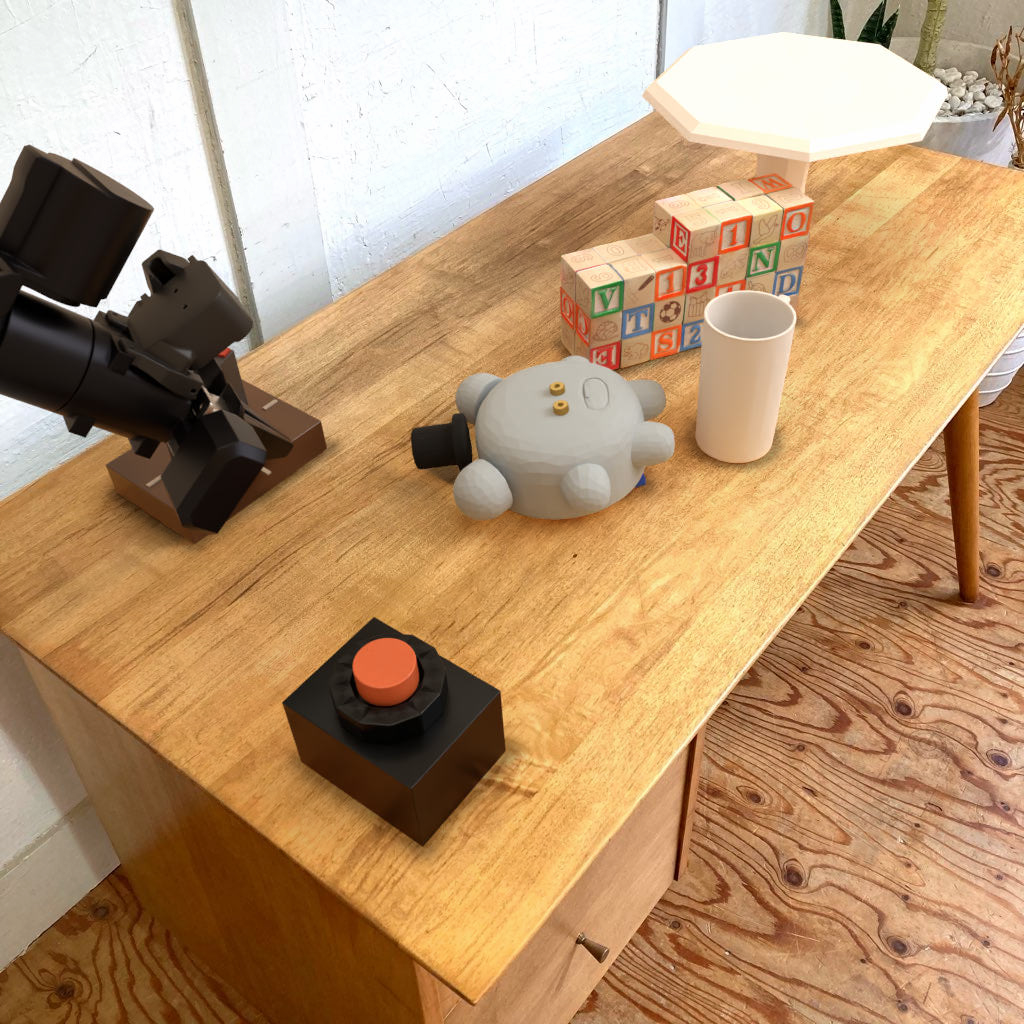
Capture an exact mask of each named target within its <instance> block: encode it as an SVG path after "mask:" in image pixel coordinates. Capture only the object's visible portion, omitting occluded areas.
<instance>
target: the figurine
mask: <svg viewBox="0 0 1024 1024" xmlns="http://www.w3.org/2000/svg"><path fill="white" fill-rule="evenodd" d="M455 405H456V409H457V411H458V412H457V413H452V415H451V420H450V422H447V423H439V424H431V425H424V426H418V427H413V428H412V429H411V433H410V445H411V453H412V458H413V462H414V465H415V467H416V468H417V470H422V471H423V470H431V469H437V468H438V469H440V468H446V467H452V466H456V467H457V468H458V471H459V473H458V474H457V477H456V478H455V480H454V484H453V488H452V489H453V490H452V495H453V499H454V503H455V505H456V506H457V508H458V510H459V511H460V512H461V513H462V514H464V515H465V516H466V517H467V518H470V519H472V520H474V521H488V520H489V521H490V520H494V519H496V518H498V517H499V516H501V515H502V514H504V513H506V511H507V510H509V511H511V512H514V513H516V514H518V515H521V516H524V517H529V518H533V519H539V520H540V519H541V520H555V521H556V520H566V519H567V520H568V519H576V518H580V517H584V516H589V515H592V514H596V513H600V512H601V511H603V510H606V509H607V508H609V507H611V506H613V505H614V504H616V503H618V502H620V501H621V500H622V499H624V498H625V497H626V496H627V495H628V494H630V493H631V492H632V491H633V490H634V489H635V488H640V487H643V486H646V485H647V479H646V476H645V473H644V472H645V470H646V468H647V467H652V466H657V465H661V464H663V463H666V462H667V461H669V460H670V459H671V458H672V457H673V456H674V453H675V449H676V444H675V443H676V442H675V434H674V431H673V430H672V428H671V427H670V426H668V425H667V424H665V423H663V422H657V421H650V420H653V419H655V418H657V417H658V416H660V415H661V414H663V412H664V411H665V408H666V406H667V396H666V392H665V390H664V388H663V386H662V384H661V383H659V382H658V381H656V380H652V379H631V380H626V379H625V378H624V377H623V376H622V375H621V374H619V373H618V372H616V371H615V370H611V369H609V368H607V367H604V366H601V365H598V364H595V363H590V362H589V360H588V359H586V358H584V357H581V356H572V355H568V356H566V357H564V358H562V359H561V360H560V361H551V362H545V363H541V364H536V365H533V366H530V367H527V368H524V369H521V370H518V371H516V372H514V373H512V374H510V375H508V376H507V377H505V378H504V379H503V378H502V377H500V376H498V375H495V374H492V373H489V372H477V373H474V374H471V375H469V376H467V377H466V378H464V379H463V380H462V381H461V383H460V384H459V385H458V386H457V389H456V393H455ZM469 425H471V426H474V437H475V447H476V453H477V459H475V460H473V459H474V458H473V444H472V438H471V433H470V427H469Z"/></svg>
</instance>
